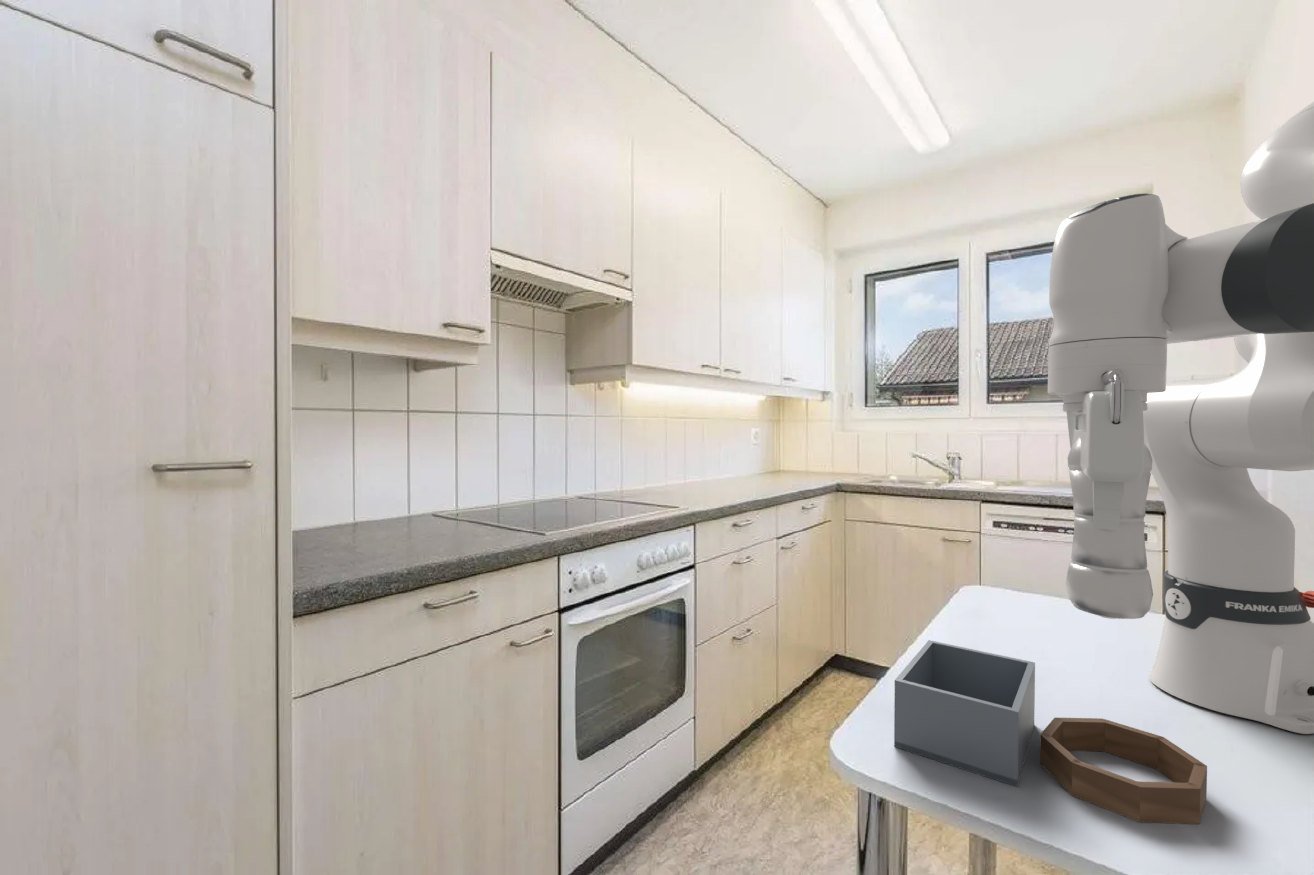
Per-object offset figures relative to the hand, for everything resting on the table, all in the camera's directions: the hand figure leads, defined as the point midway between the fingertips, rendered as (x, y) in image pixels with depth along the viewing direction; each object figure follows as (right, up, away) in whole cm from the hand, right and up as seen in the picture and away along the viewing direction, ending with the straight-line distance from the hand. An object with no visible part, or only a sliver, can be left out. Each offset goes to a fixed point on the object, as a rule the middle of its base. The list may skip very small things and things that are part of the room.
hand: (1101, 522), depth 55 cm
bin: (-9, -24, +8) cm, 27 cm away
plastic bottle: (0, -9, -1) cm, 9 cm away
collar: (+1, -24, 0) cm, 24 cm away
